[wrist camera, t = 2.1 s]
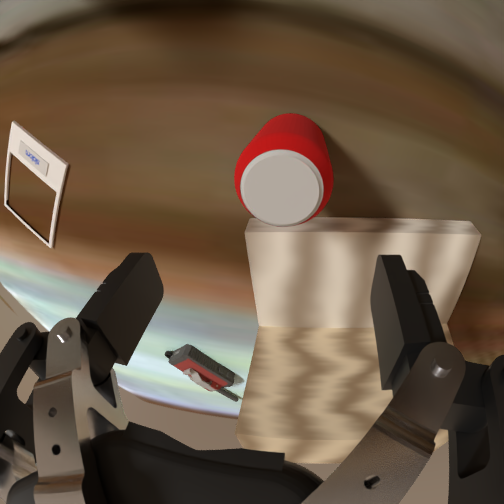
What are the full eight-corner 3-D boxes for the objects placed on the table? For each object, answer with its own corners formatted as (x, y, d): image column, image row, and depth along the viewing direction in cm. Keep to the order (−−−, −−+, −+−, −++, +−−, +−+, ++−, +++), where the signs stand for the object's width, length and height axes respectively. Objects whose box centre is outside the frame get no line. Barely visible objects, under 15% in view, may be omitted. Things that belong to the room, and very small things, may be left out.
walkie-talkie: (161, 350, 52) (235, 396, 58) (153, 368, 48) (231, 412, 54) (185, 337, 47) (264, 388, 53) (176, 357, 43) (260, 406, 50)
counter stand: (470, 221, 25) (545, 341, 11) (417, 356, 40) (431, 452, 25) (250, 218, 31) (196, 360, 16) (269, 358, 45) (249, 458, 31)
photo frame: (65, 165, 30) (50, 249, 40) (70, 162, 31) (54, 245, 41) (11, 121, 27) (3, 205, 37) (16, 119, 27) (7, 202, 37)
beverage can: (337, 137, 24) (358, 182, 14) (299, 185, 28) (292, 255, 18) (282, 99, 23) (264, 115, 13) (247, 150, 26) (209, 202, 17)
